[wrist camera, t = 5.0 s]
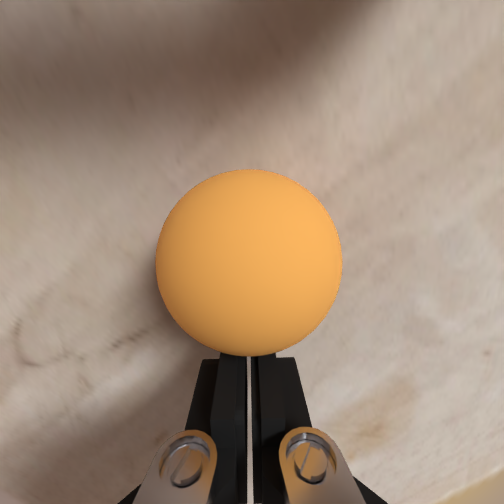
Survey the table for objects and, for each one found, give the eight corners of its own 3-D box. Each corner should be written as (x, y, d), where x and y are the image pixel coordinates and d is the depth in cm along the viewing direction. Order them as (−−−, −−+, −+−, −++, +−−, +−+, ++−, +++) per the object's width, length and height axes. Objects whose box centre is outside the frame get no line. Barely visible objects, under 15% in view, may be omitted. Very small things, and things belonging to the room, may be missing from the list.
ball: (143, 411, 6) (91, 180, 4) (186, 296, 10) (171, 166, 9) (362, 399, 6) (405, 175, 4) (308, 292, 11) (317, 164, 9)
